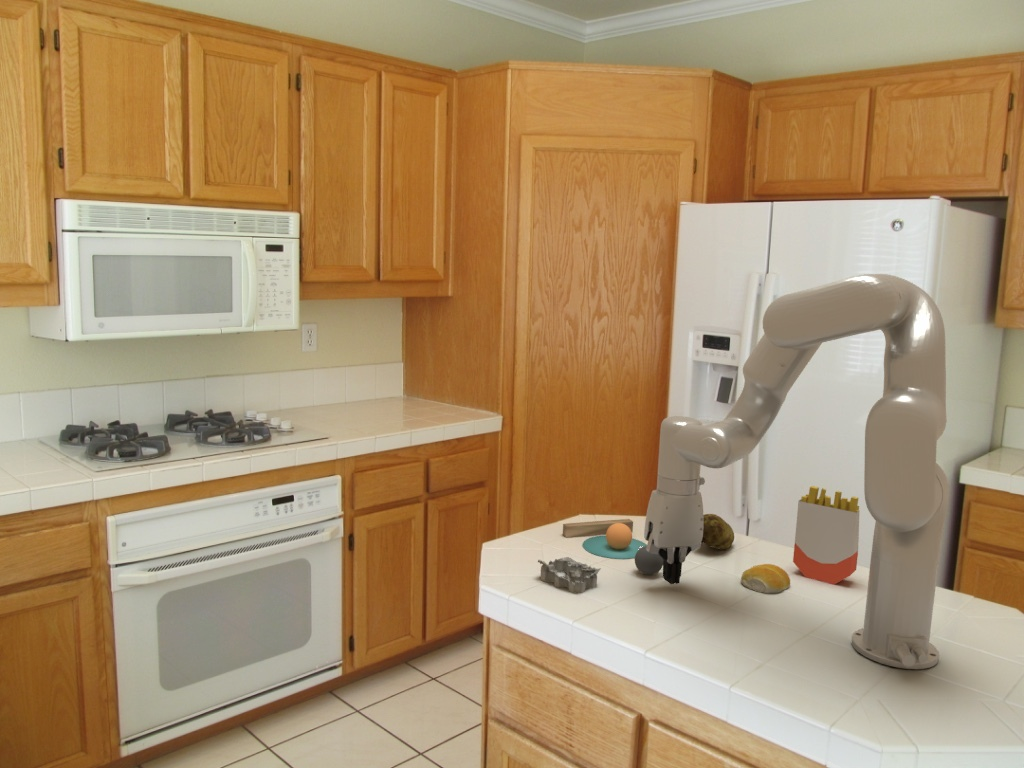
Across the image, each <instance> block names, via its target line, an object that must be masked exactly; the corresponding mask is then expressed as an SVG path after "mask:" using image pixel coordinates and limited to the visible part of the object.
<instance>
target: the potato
mask: <svg viewBox="0 0 1024 768" xmlns="http://www.w3.org/2000/svg"><path fill="white" fill-rule="evenodd" d="M703 516H704V525H703V537H702V541H701V542H700V544H705V545H706V546H707V547H710V548H713V549H716V550H726V549H729V548H730V547H731V546H732V545H733V544H734V541H735V532H734V530H733V528H732V526H731V525H730V524H729V523H728V522H726V521H725V519H724V518H722V517H721V516H719V515H717V514H714V513H706V514H703Z"/></svg>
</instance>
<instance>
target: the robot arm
mask: <svg viewBox="0 0 1024 768" xmlns="http://www.w3.org/2000/svg"><path fill="white" fill-rule="evenodd" d="M762 329H763V335H762V336H761V338H760V339H759V341H758V342H757V344H756V346H755V347H754V349H753V350H752V351H751V353H750V355H749V356H748V357H747V359H746V360H745V362H744V364H743V365H742V366H743V367H742V374H743V378H744V384H743V387H742V390H741V392H740V394H739V397H738V398H737V400H736V402H735V403H734V405H733V406H732V408H731V409H730V411H729V412H728V413H727V415H726V416H725V418H724V419H723V420H720V421H717V422H715V423H711V424H705V425H703V423H702V422H701V421H700V420H699V419H697V418H694V417H689V416H676V415H675V416H668V417H666V418H664V419H663V420H662V421H661V423H660V424H661V425H660V433H659V444H658V445H659V449H658V462H657V463H658V464H657V479H656V489H653V490H652V491H651V494H650V497H649V499H648V505H647V510H646V517H645V522H644V530H643V532H644V533H643V534H644V535H643V536H644V540H645V541H646V542H647V547H646V550H647V551H648V552H649V553H652V554H659V555H660V556H661V558H662V559H663V566H662V577H663V580H664V581H666V582H667V583H669V584H670V585H674V584H676V585H677V584H680V580H681V577H682V568H683V567H682V566H683V563H685V561H686V557H688V555H689V554H690V553H691V552H694V551H697V550H699V549H700V548H702V546H701V543H700V542H701V541H702V537H703V525H704V516H703V515H704V504H703V497H702V496H703V495H702V493H701V492H700V491H699V490H700V487H701V485H703V486H704V485H705V483H706V480H705V478H704V477H703V476H702V477H701V466H703V467H706V468H710V469H722V468H726V467H727V466H730V465H732V464H734V463H735V462H738V461H739V460H740V461H741V460H742V459H744V458H746V457H747V456H749V455H750V454H751V453H752V452H753V451H754V450H755V448H756V447H757V446H758V444H759V443H760V442H761V440H762V439H763V437H764V436H765V434H766V433H767V432H768V431H769V429H770V428H771V426H772V424H773V423H774V421H775V420H776V418H777V416H778V414H779V412H780V411H781V408H782V406H783V404H784V402H785V400H786V398H787V395H788V393H789V391H790V390H791V389H792V387H793V386H794V384H795V383H796V381H797V380H798V378H799V377H800V375H801V374H802V373H803V371H804V370H805V368H806V367H807V365H808V364H809V362H810V361H811V359H812V358H813V357H814V355H815V354H816V352H817V351H818V349H819V348H820V347H821V345H822V344H823V343H827V342H832V341H835V340H839V339H843V338H849V337H853V336H856V335H861V334H862V335H863V334H865V333H870V332H875V331H876V332H877V331H882V333H883V336H884V340H885V345H884V348H885V349H884V355H883V390H882V397H880V398H879V400H877V401H876V402H875V403H874V404H873V405H872V407H871V409H870V411H868V412H869V413H868V415H867V419H866V422H865V429H864V430H865V431H864V478H863V479H864V480H863V482H864V483H863V485H864V488H863V489H864V491H863V492H864V500H865V504H866V507H867V510H868V512H869V514H870V515H871V517H872V518H873V519H874V520H875V523H874V530H873V535H872V545H871V555H870V564H869V571H868V572H869V573H868V581H867V593H866V602H865V610H864V611H865V612H864V620H863V622H864V623H863V628H860V629H858V630H856V631H854V632H853V633H852V634H851V645H852V647H853V648H854V650H855V651H856V652H858V653H860V655H862V656H864V657H865V658H867V659H869V660H871V661H874V662H876V663H879V664H881V665H882V664H883V665H885V666H888V667H893V668H898V669H903V670H904V669H905V670H924V669H928V668H932V667H934V666H935V665H937V663H938V662H939V656H940V654H939V653H940V652H939V650H938V649H937V647H936V646H934V645H933V643H931V642H930V637H931V628H932V623H933V622H932V621H933V611H934V603H935V597H936V586H937V577H938V569H939V563H940V554H941V548H942V547H941V546H942V541H943V540H942V539H943V532H944V526H945V522H946V521H945V520H946V517H947V516H946V515H947V510H948V506H949V505H948V504H949V497H950V486H949V479H948V478H947V475H946V473H945V471H944V470H943V468H942V467H941V466H940V465H939V464H938V463H937V443H938V440H939V439H940V438H941V437H942V435H943V434H944V431H945V429H946V426H947V405H946V403H947V402H946V400H947V397H946V396H947V395H946V393H947V391H946V390H947V384H946V383H947V370H946V369H947V368H946V367H947V366H946V331H945V325H944V321H943V316H942V313H941V312H940V309H939V307H938V305H937V304H936V302H935V300H933V298H932V297H931V296H930V294H928V292H926V291H925V290H924V289H923V288H921V287H920V286H918V285H916V284H915V283H913V282H911V281H908V280H907V279H905V278H902V277H899V276H895V275H891V274H887V273H886V274H885V273H874V274H873V273H872V274H871V273H870V274H869V273H868V274H867V273H866V274H865V273H864V274H859V275H854V276H851V277H847V278H844V279H840V280H836V281H832V282H829V283H826V284H822V285H818V286H815V287H812V288H808V289H804V290H801V291H797V292H791V293H787V294H784V295H781V296H779V297H777V298H776V299H774V300H773V301H772V302H771V303H770V304H769V305H768V307H767V308H766V310H765V312H764V314H763V317H762Z"/></svg>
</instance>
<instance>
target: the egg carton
mask: <svg viewBox="0 0 1024 768" xmlns="http://www.w3.org/2000/svg"><path fill="white" fill-rule="evenodd" d="M537 563H539V565H541V566H540V575H539V576H540V579H541V581H542V582H544V583H549V582H550V583H554V586H555V587H558V588H566V589H568V592H570V593H581V594H583V593H586V588H589V589H596V588H597V583H598V582H597V581H598V574H599V572H601V569H602V568H596V567H592V566H588V564H587V563H581V562H579V561H575V560H574V559H573V558H571V557H569V556H565V557H560V558H559V559H557V558H555V559H554V560H553V561H552V560H550V561H549V562H548V563H546V562H545V561H543V560H541V559H538V560H537ZM558 573H565V574H566V575H561V576H559V575H558Z"/></svg>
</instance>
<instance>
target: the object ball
mask: <svg viewBox="0 0 1024 768" xmlns="http://www.w3.org/2000/svg"><path fill="white" fill-rule="evenodd" d="M632 538H633V532H631V530H630V528H629V527H628V526H627V525H625V524H622V523H615V524H613V525H611V526H610V527H609V528H608V530H607V532H606V540H607V543H608V544H609V545H610V546H611V547H612V548H614V549H617V550H622V549H625V548H627V547H628V546H629V545H630V543H631V541H632Z"/></svg>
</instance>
